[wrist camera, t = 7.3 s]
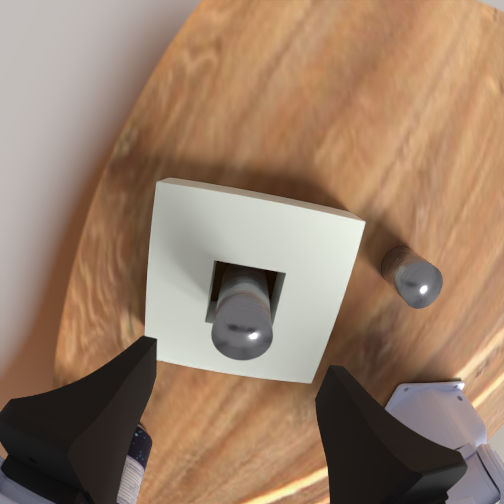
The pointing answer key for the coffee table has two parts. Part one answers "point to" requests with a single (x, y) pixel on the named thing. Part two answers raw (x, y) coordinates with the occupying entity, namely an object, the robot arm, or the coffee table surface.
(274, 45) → the coffee table surface
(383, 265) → the short pin
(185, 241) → the hole block
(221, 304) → the long pin
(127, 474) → the beverage can
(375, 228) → the coffee table surface
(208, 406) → the coffee table surface
